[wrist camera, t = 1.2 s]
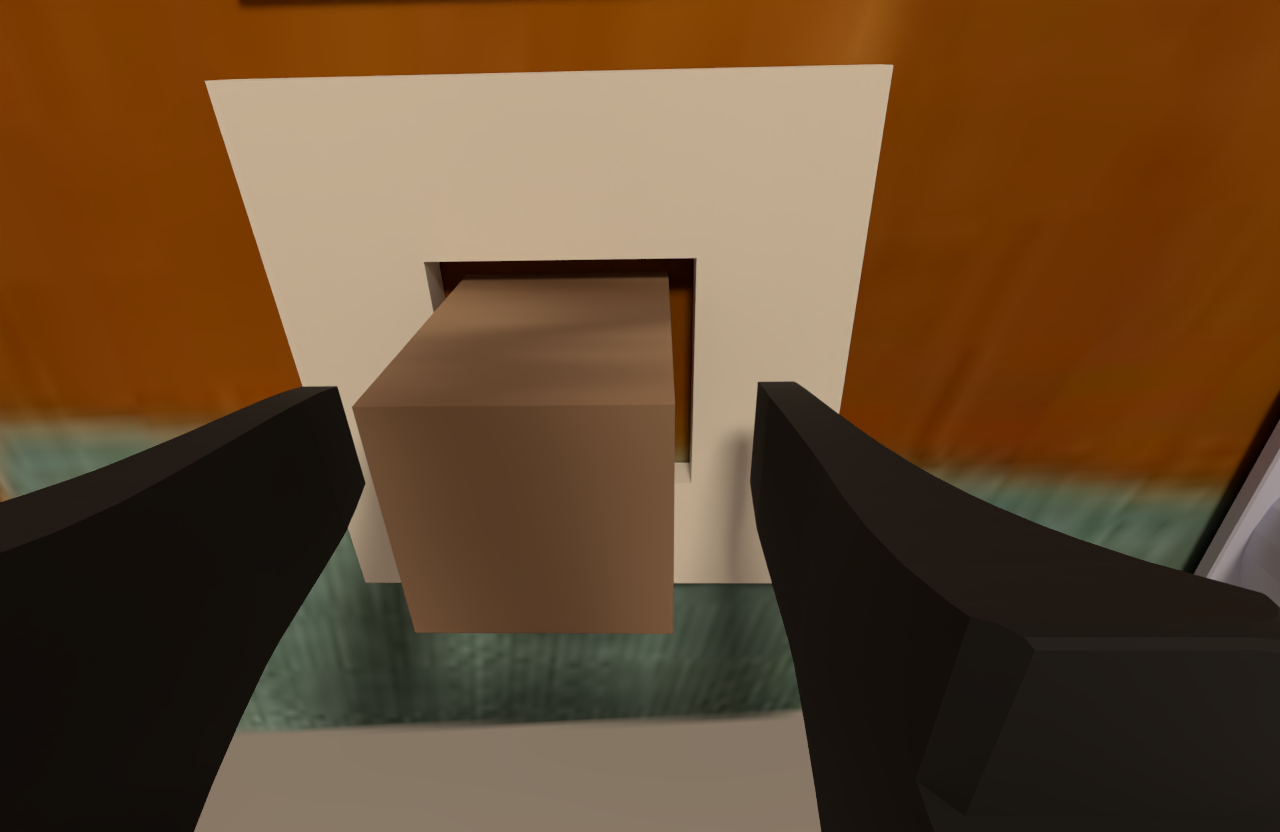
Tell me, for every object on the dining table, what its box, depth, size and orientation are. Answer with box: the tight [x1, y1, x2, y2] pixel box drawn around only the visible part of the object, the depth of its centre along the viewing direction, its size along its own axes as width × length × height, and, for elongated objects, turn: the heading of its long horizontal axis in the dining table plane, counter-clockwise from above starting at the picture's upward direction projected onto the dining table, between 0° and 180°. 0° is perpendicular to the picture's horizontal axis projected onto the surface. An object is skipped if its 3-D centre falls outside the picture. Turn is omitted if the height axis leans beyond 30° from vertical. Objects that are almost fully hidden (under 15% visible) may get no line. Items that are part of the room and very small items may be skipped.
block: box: [352, 272, 675, 634], centre depth 11 cm, size 4×4×6 cm
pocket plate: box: [205, 64, 893, 583], centre depth 13 cm, size 11×11×1 cm
